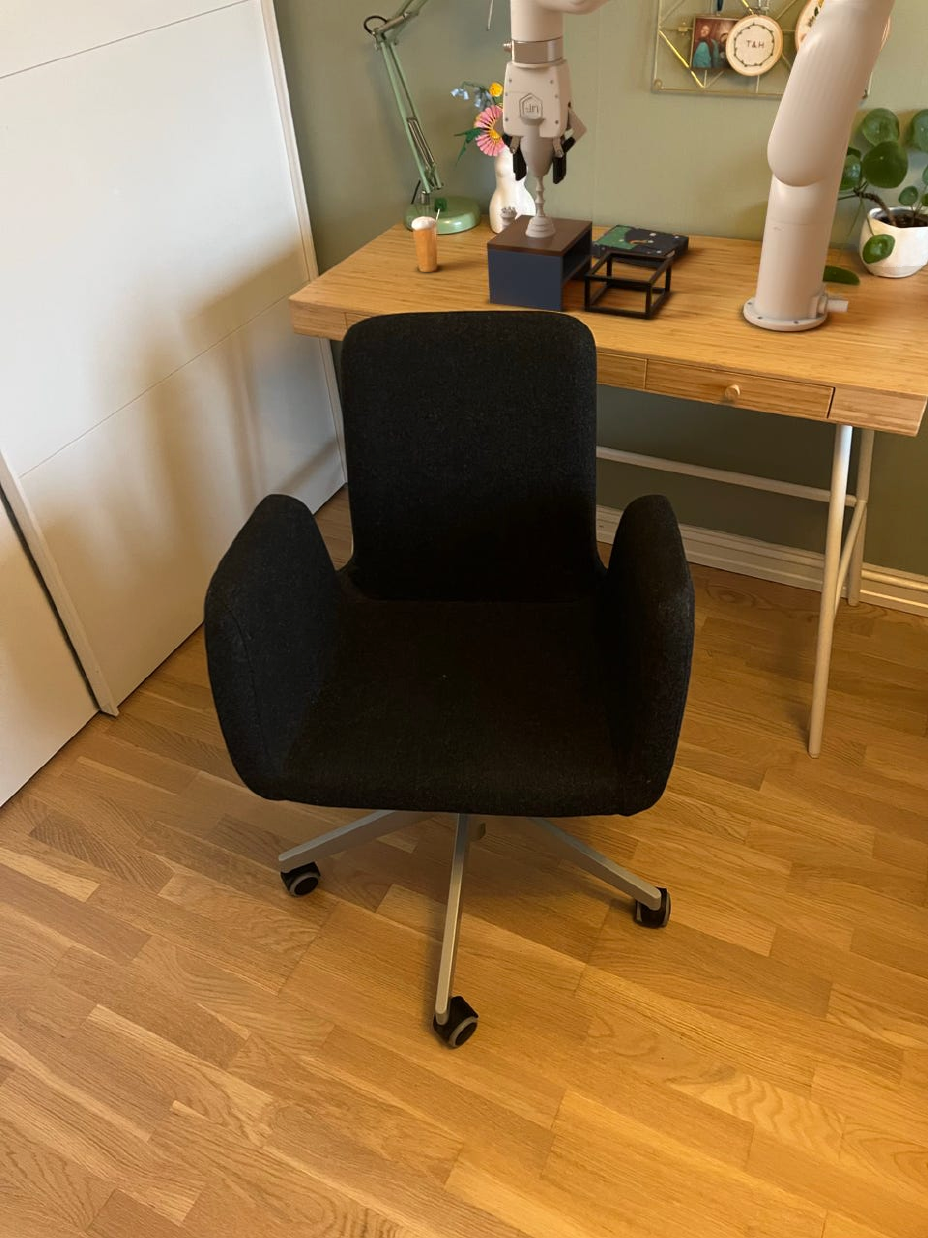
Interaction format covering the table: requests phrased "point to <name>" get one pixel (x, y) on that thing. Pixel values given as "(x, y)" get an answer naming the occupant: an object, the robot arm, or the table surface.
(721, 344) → the table surface
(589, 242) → the shelf
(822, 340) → the table surface
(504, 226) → the rook chess piece
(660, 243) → the disk drive
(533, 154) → the chalice
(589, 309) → the cup rack
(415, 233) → the milkshake
